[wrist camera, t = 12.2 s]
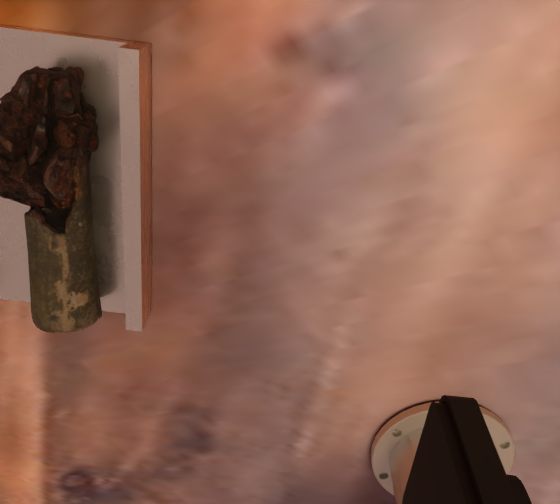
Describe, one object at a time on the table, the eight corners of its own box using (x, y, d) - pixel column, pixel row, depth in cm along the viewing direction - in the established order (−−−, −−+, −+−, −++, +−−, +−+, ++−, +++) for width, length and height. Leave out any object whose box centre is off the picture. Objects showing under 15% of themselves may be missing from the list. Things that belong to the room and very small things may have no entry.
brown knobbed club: (110, 303, 42) (83, 349, 37) (23, 290, 41) (-16, 335, 36) (108, 67, 33) (72, 86, 28) (-2, 49, 33) (-57, 65, 28)
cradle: (151, 309, 43) (142, 331, 40) (-18, 289, 42) (-39, 311, 40) (151, 43, 33) (138, 50, 31) (-66, 16, 33) (-98, 20, 30)
